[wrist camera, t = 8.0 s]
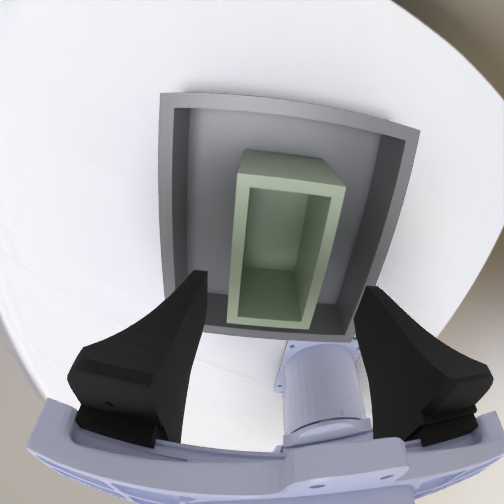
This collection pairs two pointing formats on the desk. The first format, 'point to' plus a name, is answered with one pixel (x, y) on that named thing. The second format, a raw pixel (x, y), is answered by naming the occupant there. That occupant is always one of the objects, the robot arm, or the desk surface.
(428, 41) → the desk surface
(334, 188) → the sage crate
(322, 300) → the charcoal crate
